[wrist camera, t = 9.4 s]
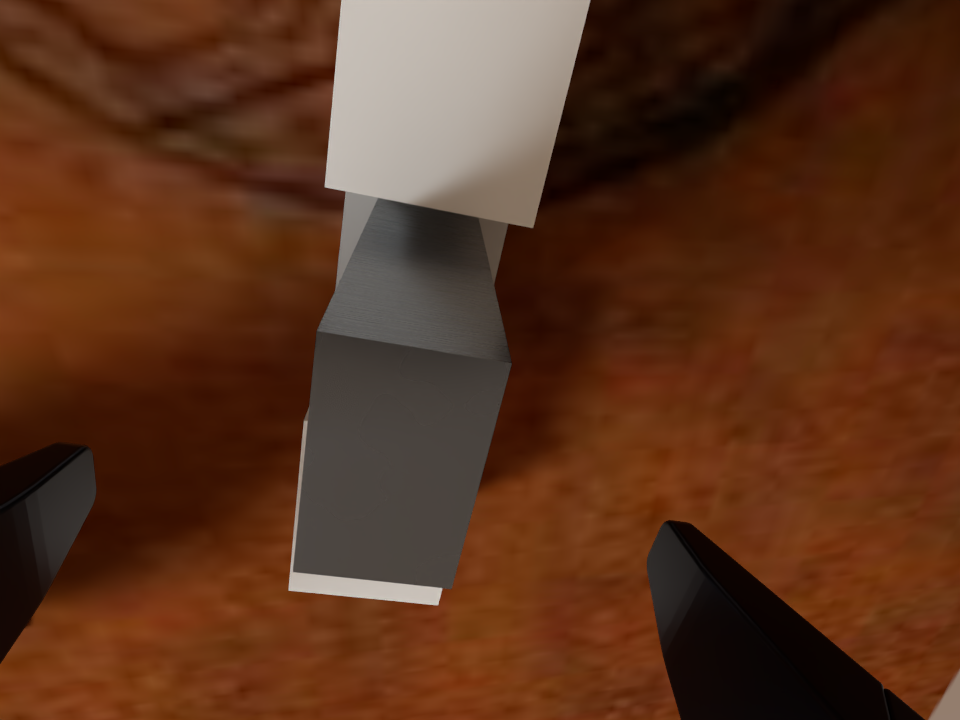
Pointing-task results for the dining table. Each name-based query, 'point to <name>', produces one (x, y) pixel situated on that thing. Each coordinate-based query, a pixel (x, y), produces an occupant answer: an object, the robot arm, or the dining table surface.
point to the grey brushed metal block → (402, 401)
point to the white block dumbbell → (443, 136)
